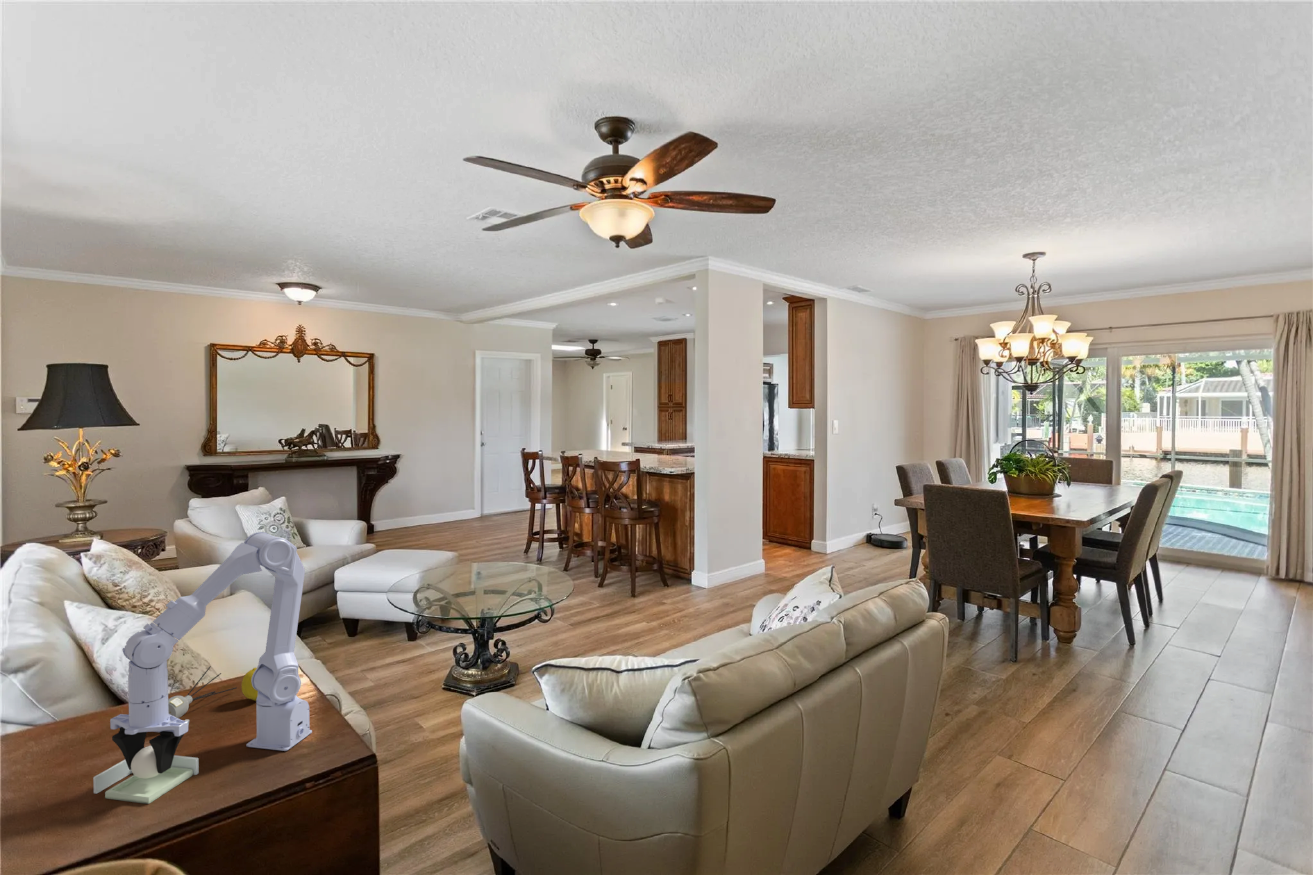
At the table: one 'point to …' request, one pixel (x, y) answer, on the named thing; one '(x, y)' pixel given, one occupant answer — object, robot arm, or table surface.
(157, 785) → the resting spot
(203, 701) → the table surface
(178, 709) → the reed diffuser
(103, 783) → the acrylic walls
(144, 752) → the ball
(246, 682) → the lemon
